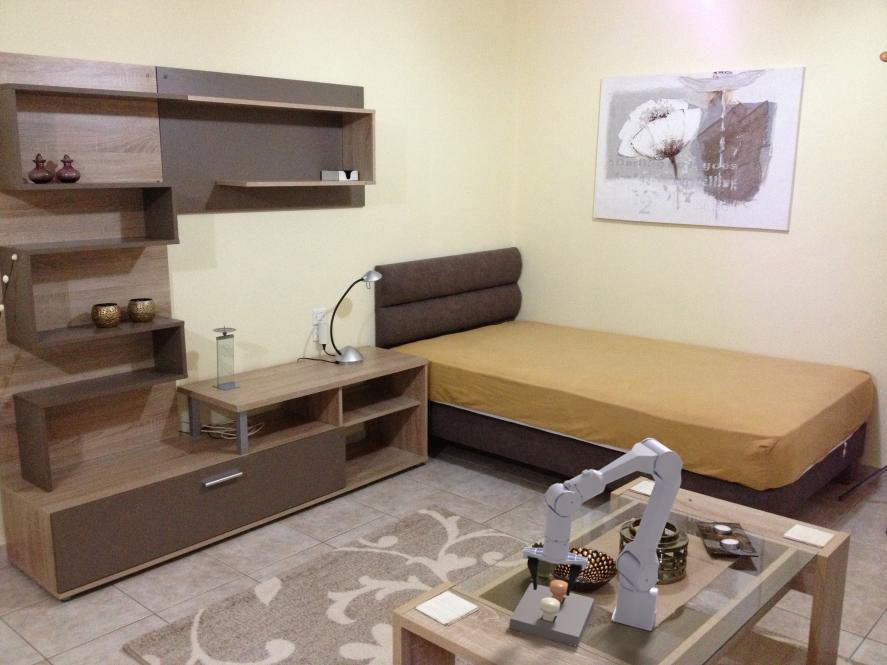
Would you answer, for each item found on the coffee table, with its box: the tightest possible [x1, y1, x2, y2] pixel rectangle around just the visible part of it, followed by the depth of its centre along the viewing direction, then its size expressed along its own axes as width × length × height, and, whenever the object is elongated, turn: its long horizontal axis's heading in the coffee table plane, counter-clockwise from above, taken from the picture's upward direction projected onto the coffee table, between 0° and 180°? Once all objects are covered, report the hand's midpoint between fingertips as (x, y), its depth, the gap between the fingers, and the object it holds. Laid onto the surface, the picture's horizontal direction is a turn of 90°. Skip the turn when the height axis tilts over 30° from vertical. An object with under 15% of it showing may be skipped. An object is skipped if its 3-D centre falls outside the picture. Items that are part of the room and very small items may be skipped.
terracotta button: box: [549, 579, 568, 603], centre depth 197 cm, size 4×4×4 cm
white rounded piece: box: [540, 598, 560, 622], centre depth 189 cm, size 4×4×4 cm
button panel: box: [509, 582, 595, 647], centre depth 194 cm, size 16×18×2 cm
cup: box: [531, 541, 558, 580], centre depth 212 cm, size 8×7×8 cm
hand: (551, 590), depth 188 cm, fingers open, 7 cm apart
